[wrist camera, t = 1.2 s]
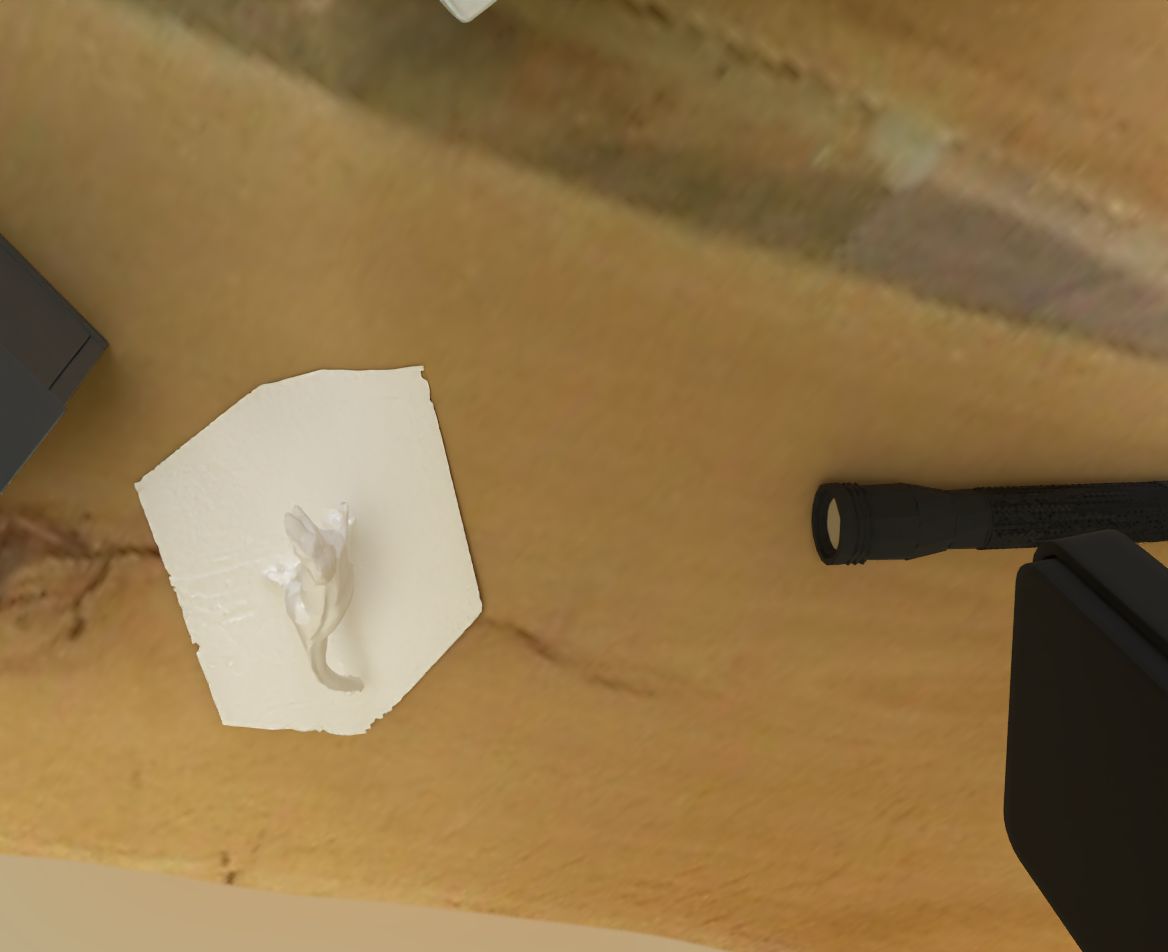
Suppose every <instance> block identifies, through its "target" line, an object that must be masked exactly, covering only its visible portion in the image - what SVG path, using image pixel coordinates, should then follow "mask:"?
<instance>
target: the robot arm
mask: <svg viewBox="0 0 1168 952" xmlns="http://www.w3.org/2000/svg"><path fill="white" fill-rule="evenodd" d="M1004 821H1005V827H1006V831H1007V834H1008V837H1009V840H1010V843H1011V845H1012V847H1013V850H1014V852H1015V853H1016V855H1017V857H1018V858H1019V860H1020V862H1021V863H1022V864H1023V866H1024V867H1025V869H1026V870H1027V872H1028V873H1029V875H1030V876H1031V878H1032V879H1033V880H1034V882H1035V883H1036V885H1037V886H1038V888H1039V889H1040V891H1041V892H1042V894H1043V895H1044V897H1045V898H1046V899H1047V901H1048V902H1049V904H1050V905H1051V907H1052V908H1053V910H1054V911H1055V913H1056V914H1057V915H1058V917H1059V918H1060V920H1061V921H1062V923H1063V924H1064V926H1065V927H1066V929H1067V930H1068V931H1069V933H1070V934H1071V936H1072V937H1073V939H1074V940H1075V942H1076V943H1077V945H1078V946H1079V947H1080V949H1081V950H1082V952H1168V568H1166V567H1165V566H1164V565H1163V564H1161V563H1160V562H1159V561H1158V560H1156V559H1155V558H1154V557H1153V556H1151V555H1150V554H1149V553H1148V552H1146V551H1145V550H1144V549H1143V548H1141V547H1140V546H1139V545H1138V544H1136V543H1135V542H1134V541H1133V540H1131V539H1130V538H1129V537H1128V536H1126V535H1125V534H1123V533H1121V532H1119V531H1117V530H1111V529H1106V530H1101V531H1096V532H1091V533H1086V534H1081V535H1076V536H1071V537H1066V538H1061V539H1056V540H1051V541H1045V542H1044V543H1042V544H1041V545H1039V546H1038V548H1037V550H1036V552H1035V554H1034V558H1033V562H1032V563H1027V564H1024V565H1023V566H1021V567H1020V569H1019V571H1018V573H1017V577H1016V586H1015V605H1014V623H1013V642H1012V661H1011V680H1010V698H1009V717H1008V736H1007V755H1006V773H1005V792H1004Z"/></svg>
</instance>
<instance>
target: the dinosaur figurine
mask: <svg viewBox="0 0 1168 952" xmlns="http://www.w3.org/2000/svg"><path fill="white" fill-rule="evenodd" d="M423 370H424V368H423V366H413V367H405V368H399V369H393V370H364V371H353V370H323V369H321V370H318V371H315V372H311V373H307V374H303V375H299V376H295V377H292V378H288V379H284V380H281V381H278V382H275V383H268V384H263V385H260V386H259V387H257V388H256V389H254V390H252V392H251V394H247V395H246V396H245V397H243V398H242V399H241V400H239V401H238V402H237V403H236V405H233V406H232V407H230V408H229V410H228V411H225V413H224V414H222V415H220V417H217V419H216V420H214V422H211V424H209V426H206V428H204V430H201V431H200V432H199V433H198V434H197V435H196V436H195V437H193V438H191V439H190V440H189V441H188V442H187V443H185V444H183V446H181V447H180V449H179V450H176V451H175V452H174V453H173V454H171V456H169V457H168V458H166V461H165V460H164V461H162V462H161V463H160V465H157V466H156V467H155V469H154V470H152V469H151V472H149V473H147V475H145V476H143V477H142V479H141V481H140V482H136V483H134V486H135V488H136V491H137V492H139V494H138V496H139V498H140V502H141V504H142V506H143V509H144V510H145V512H144V513H145V516H146V518H147V519H148V521H149V523H148V524H149V525H150V529H151V530H152V532H153V536H154V540H155V542H156V544H157V545H158V546H159V548H158V549H160V550H159V552H160V555H161V558H162V560H163V561H162V562H163V563H164V564H165V565H164V566H165V569H166V570H168V572H167V573H169V574H170V575H171V576H170V577H169V579H170V582H171V586H174V587H176V588H174V589H173V590H174V591H175V592H177V597H178V600H179V603H178V604H179V605H180V606H181V607H182V611H183V613H182V614H183V616H184V619H185V621H186V626H187V629H188V631H189V634H190V635H191V636H192V637H191V640H192V644H194V643H197V644H198V645H199V646H200V648H199V650H198V652H196V653H197V654H196V655H197V656H198V659H199V663H200V665H201V668H202V669H203V672H204V676H205V677H206V679H207V682H208V684H210V685H209V689H210V691H211V695H212V697H213V699H214V702H215V704H216V706H217V709H218V710H219V712H218V713H219V714H220V717H221V719H222V720H221V721H222V723H223V725H228V726H240V727H250V728H260V729H272V730H278V729H293V730H298V731H303V732H306V731H312V730H317V731H319V732H320V731H322V730H325V731H326V732H329V733H330V734H331V733H332V734H337V735H345V736H346V735H355V734H364V733H367V732H366V729H370V728H371V727H370V724H372V723H373V722H374V721H375V718H377V719H382V718H383V714H384V713H387V712H390V711H391V710H392V706H395V705H396V704H397V703H398V702H399V701H401V699H402V697H403V696H404V695H406V694H407V693H408V692H409V691H410V690H411V689H412V688H413V686H414V685H415V684H416V683H417V682H418V681H419V680H420V679H421V678H422V677H423V675H425V673H426V671H428V670H429V668H431V666H432V665H433V664H435V663H436V662H437V661H438V659H439V658H440V657H441V656H442V655H443V654H444V653H445V652H446V651H447V650H448V648H450V646H451V645H452V644H453V643H454V642H455V641H456V640H457V639H458V638H459V637H460V636H461V635H462V634H463V632H464V631H465V629H466V628H467V627H469V626H470V625H471V624H472V622H473V621H474V620H475V619H476V618H477V617H478V616H479V614H480V613H481V611H482V609H481V608H482V602H481V600H480V598H479V591H478V587H477V584H476V583H477V581H476V579H475V573H474V570H473V564H472V561H471V556H470V554H469V551H468V544H467V540H466V539H465V538H466V535H465V532H464V529H463V528H464V527H463V524H462V519H461V516H460V511H459V509H458V503H457V499H456V495H455V490H454V487H453V482H452V480H451V475H450V469H449V466H448V462H447V457H446V454H445V450H444V445H443V442H442V441H443V440H442V436H441V433H440V430H439V424H438V420H437V417H436V414H435V410H434V408H433V405H434V404H433V403H432V402H430V389H429V385H428V382H427V381H426V380H425V379H423V378H422V377H421V371H423Z"/></svg>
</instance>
